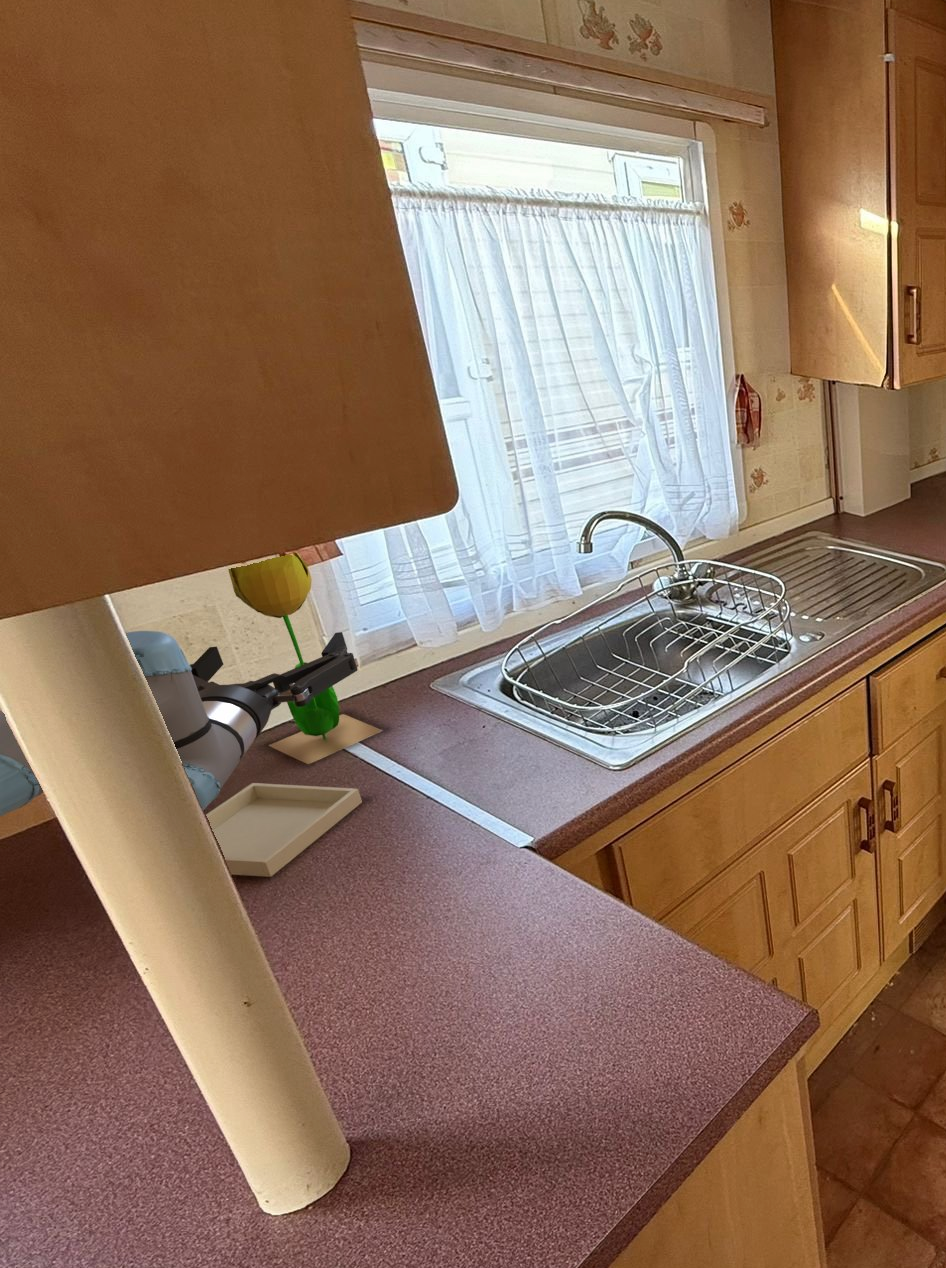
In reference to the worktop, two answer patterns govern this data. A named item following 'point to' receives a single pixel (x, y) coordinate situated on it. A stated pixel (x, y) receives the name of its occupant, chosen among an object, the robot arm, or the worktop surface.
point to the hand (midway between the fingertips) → (280, 648)
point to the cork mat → (325, 740)
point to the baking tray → (276, 823)
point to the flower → (280, 594)
